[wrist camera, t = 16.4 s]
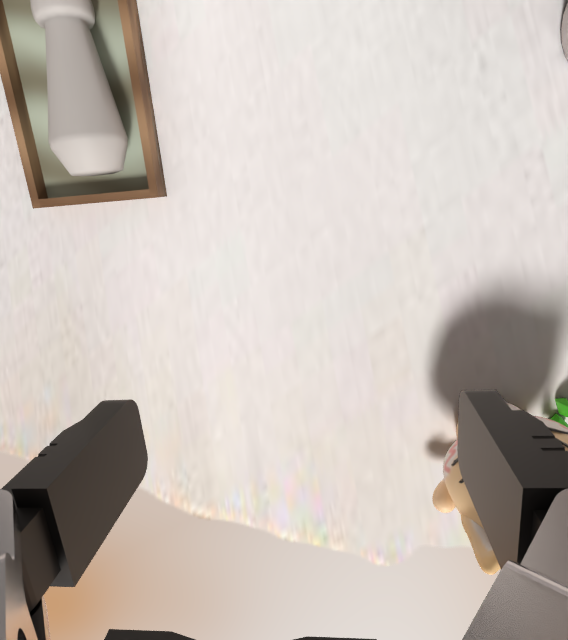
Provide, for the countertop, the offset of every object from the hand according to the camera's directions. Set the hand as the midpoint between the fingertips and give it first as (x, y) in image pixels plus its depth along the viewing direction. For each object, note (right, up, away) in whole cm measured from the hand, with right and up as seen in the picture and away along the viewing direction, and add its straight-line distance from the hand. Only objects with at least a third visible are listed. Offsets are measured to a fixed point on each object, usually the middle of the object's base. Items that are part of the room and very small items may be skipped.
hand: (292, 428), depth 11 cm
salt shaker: (-15, +14, +25) cm, 33 cm away
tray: (-17, +22, +27) cm, 39 cm away
